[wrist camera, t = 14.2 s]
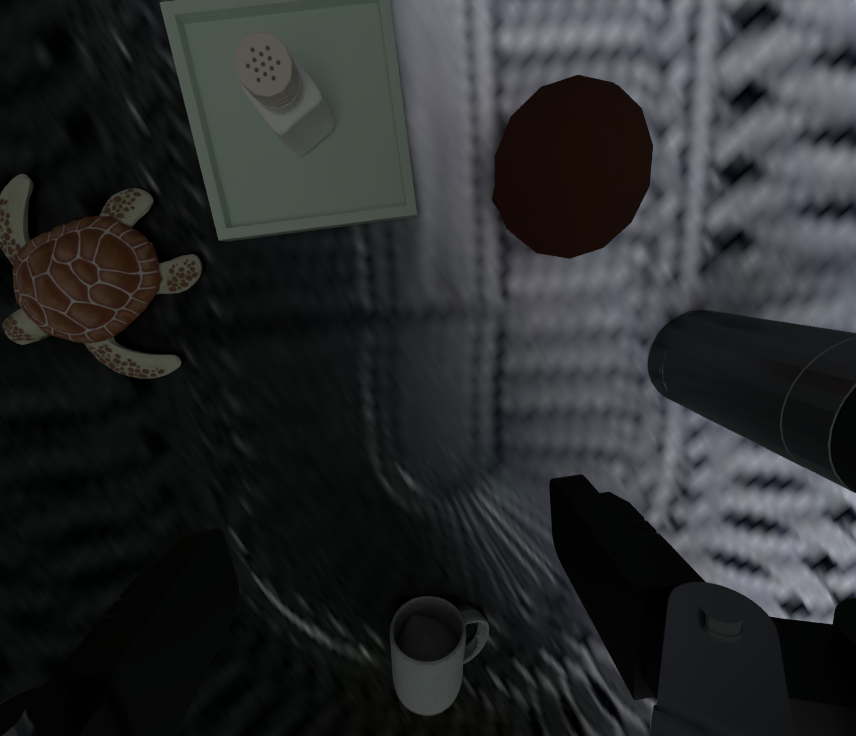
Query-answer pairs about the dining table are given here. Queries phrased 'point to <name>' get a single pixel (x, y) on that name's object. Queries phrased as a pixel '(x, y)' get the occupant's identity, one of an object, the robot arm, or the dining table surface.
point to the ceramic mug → (432, 652)
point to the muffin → (573, 166)
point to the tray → (258, 144)
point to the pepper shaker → (282, 91)
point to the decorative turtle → (89, 278)
